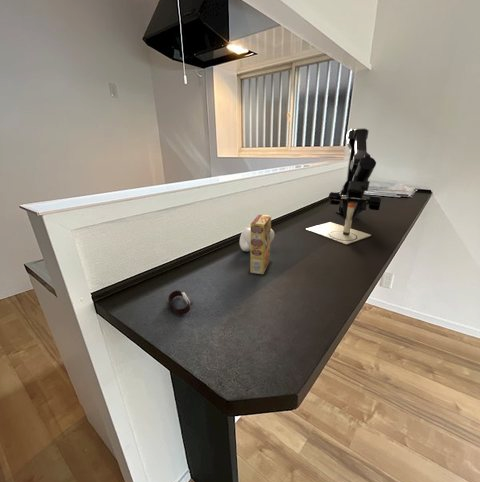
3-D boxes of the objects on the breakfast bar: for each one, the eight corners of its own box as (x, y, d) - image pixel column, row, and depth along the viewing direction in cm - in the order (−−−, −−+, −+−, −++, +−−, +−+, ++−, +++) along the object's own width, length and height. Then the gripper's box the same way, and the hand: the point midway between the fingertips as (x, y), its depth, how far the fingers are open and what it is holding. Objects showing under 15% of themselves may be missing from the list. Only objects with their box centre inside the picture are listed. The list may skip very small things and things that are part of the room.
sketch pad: (305, 229, 111) (305, 228, 111) (330, 222, 119) (330, 221, 119) (346, 244, 96) (346, 243, 96) (371, 235, 104) (371, 234, 104)
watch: (195, 312, 60) (194, 299, 59) (176, 319, 58) (174, 305, 57) (183, 296, 66) (181, 283, 65) (164, 302, 64) (162, 289, 62)
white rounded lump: (230, 251, 91) (229, 226, 87) (252, 241, 99) (253, 218, 95) (255, 261, 84) (256, 234, 80) (277, 249, 92) (279, 225, 88)
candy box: (263, 275, 76) (265, 224, 69) (249, 273, 77) (250, 223, 70) (269, 262, 83) (272, 215, 77) (256, 260, 84) (258, 214, 78)
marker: (341, 234, 105) (346, 203, 99) (345, 232, 106) (350, 202, 100) (346, 236, 103) (352, 204, 97) (350, 234, 104) (356, 203, 99)
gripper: (333, 170, 102) (321, 204, 98) (387, 174, 93) (377, 212, 89) (334, 187, 111) (324, 219, 107) (383, 192, 102) (374, 227, 99)
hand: (348, 219), depth 100 cm, fingers closed on marker, 2 cm apart
